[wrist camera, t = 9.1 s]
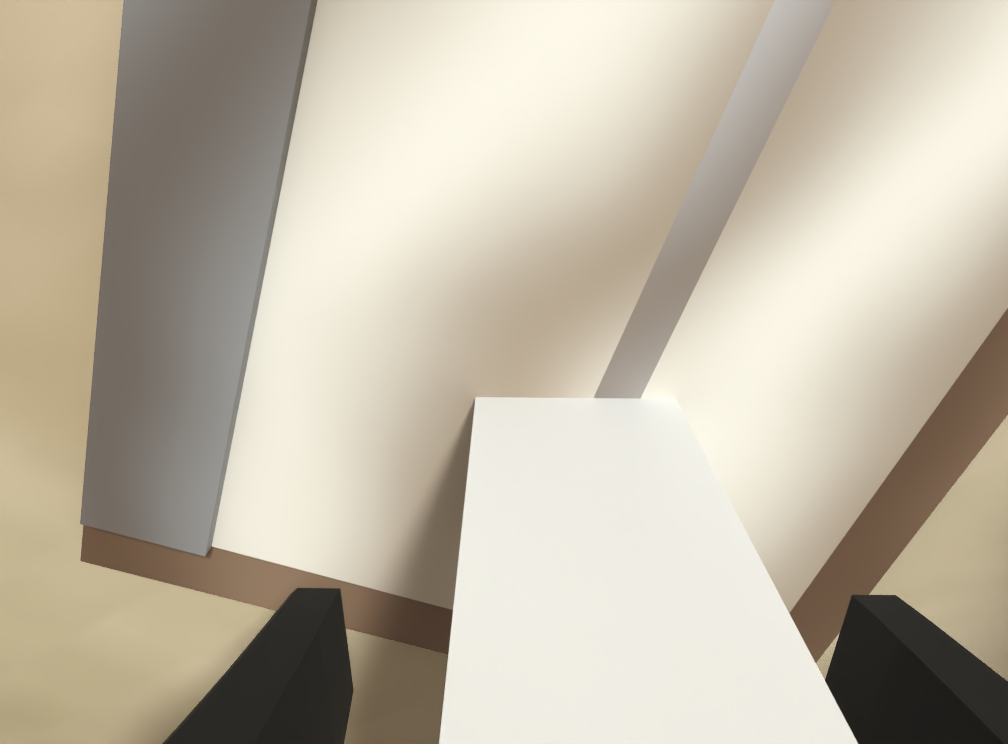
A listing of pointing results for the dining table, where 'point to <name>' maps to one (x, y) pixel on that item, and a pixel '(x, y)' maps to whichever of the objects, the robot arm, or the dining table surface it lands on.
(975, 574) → the dining table surface
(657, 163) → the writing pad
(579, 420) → the long rectangular beam
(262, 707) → the robot arm
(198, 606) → the dining table surface
